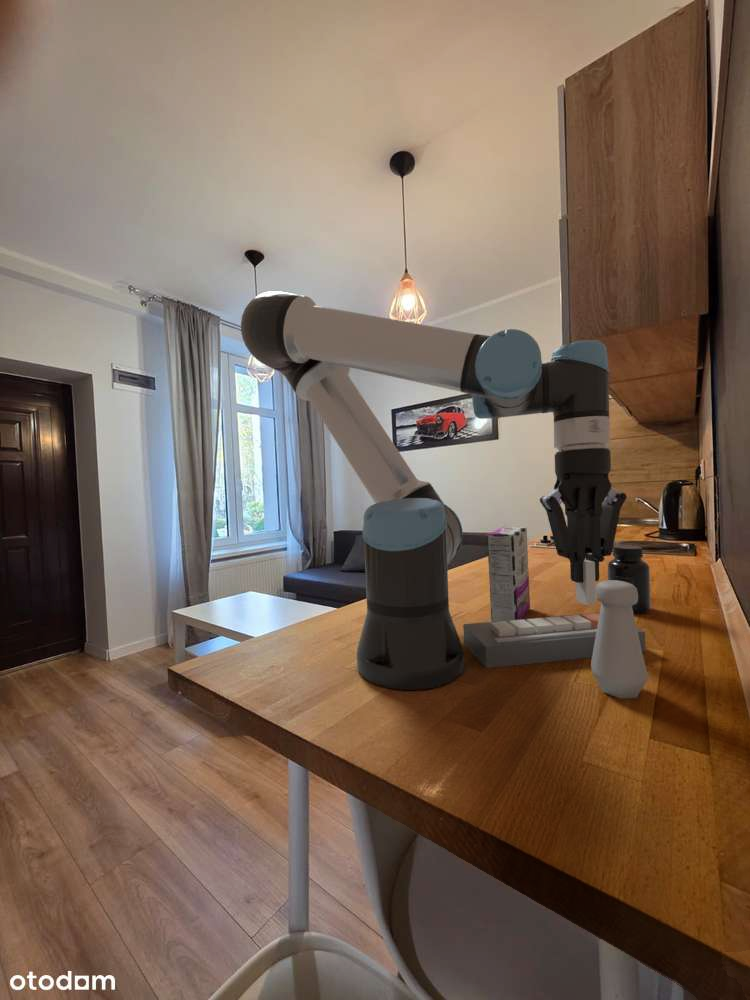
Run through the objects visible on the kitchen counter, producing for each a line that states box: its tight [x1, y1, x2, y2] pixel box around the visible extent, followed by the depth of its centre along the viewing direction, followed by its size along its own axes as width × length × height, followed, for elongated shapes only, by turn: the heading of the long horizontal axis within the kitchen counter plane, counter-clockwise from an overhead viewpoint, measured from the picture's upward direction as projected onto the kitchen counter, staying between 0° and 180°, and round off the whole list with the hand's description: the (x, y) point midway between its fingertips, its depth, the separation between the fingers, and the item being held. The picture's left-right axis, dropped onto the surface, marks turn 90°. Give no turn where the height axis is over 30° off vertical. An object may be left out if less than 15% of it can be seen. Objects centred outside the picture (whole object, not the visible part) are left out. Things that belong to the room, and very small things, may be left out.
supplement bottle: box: [607, 544, 652, 614], centre depth 75 cm, size 7×7×12 cm
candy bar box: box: [486, 526, 531, 622], centre depth 74 cm, size 11×5×16 cm, turn 147°
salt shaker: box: [590, 579, 649, 700], centre depth 47 cm, size 6×6×13 cm
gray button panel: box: [462, 611, 646, 669], centre depth 60 cm, size 24×9×4 cm, turn 97°
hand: (585, 602), depth 60 cm, fingers closed
